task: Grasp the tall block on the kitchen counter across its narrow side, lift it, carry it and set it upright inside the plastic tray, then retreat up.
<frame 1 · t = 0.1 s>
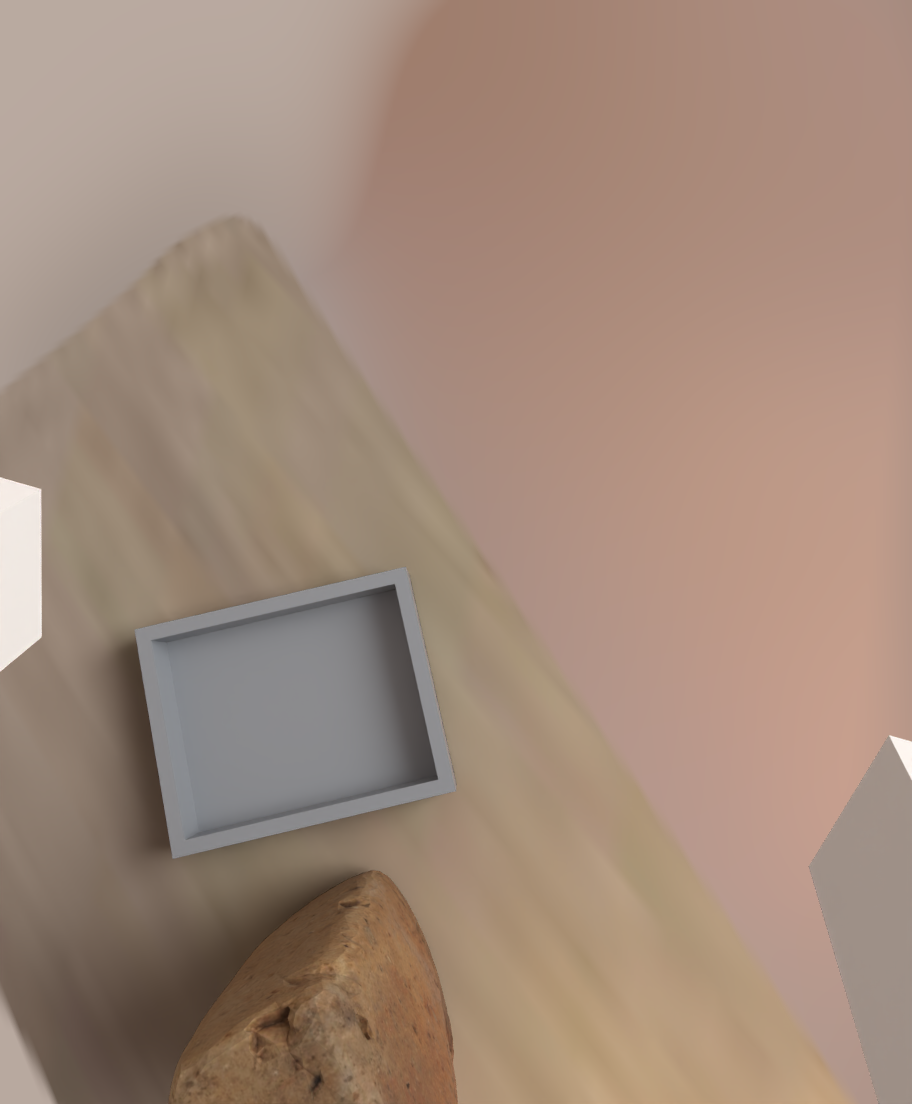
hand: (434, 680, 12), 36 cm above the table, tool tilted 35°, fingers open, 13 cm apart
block: (373, 968, 45), on the table
tray: (303, 707, 48), on the table
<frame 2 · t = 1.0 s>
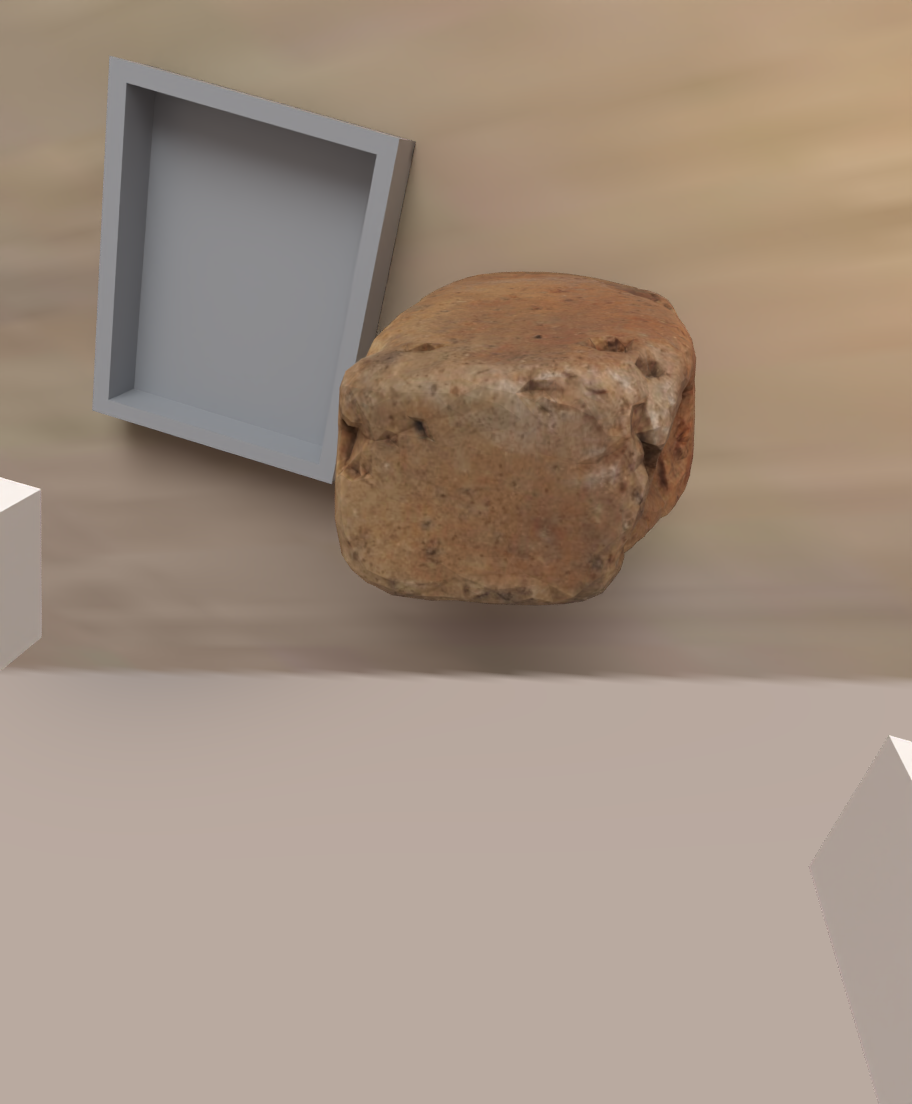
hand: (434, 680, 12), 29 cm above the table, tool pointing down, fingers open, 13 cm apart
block: (559, 347, 38), on the table
tray: (256, 281, 39), on the table
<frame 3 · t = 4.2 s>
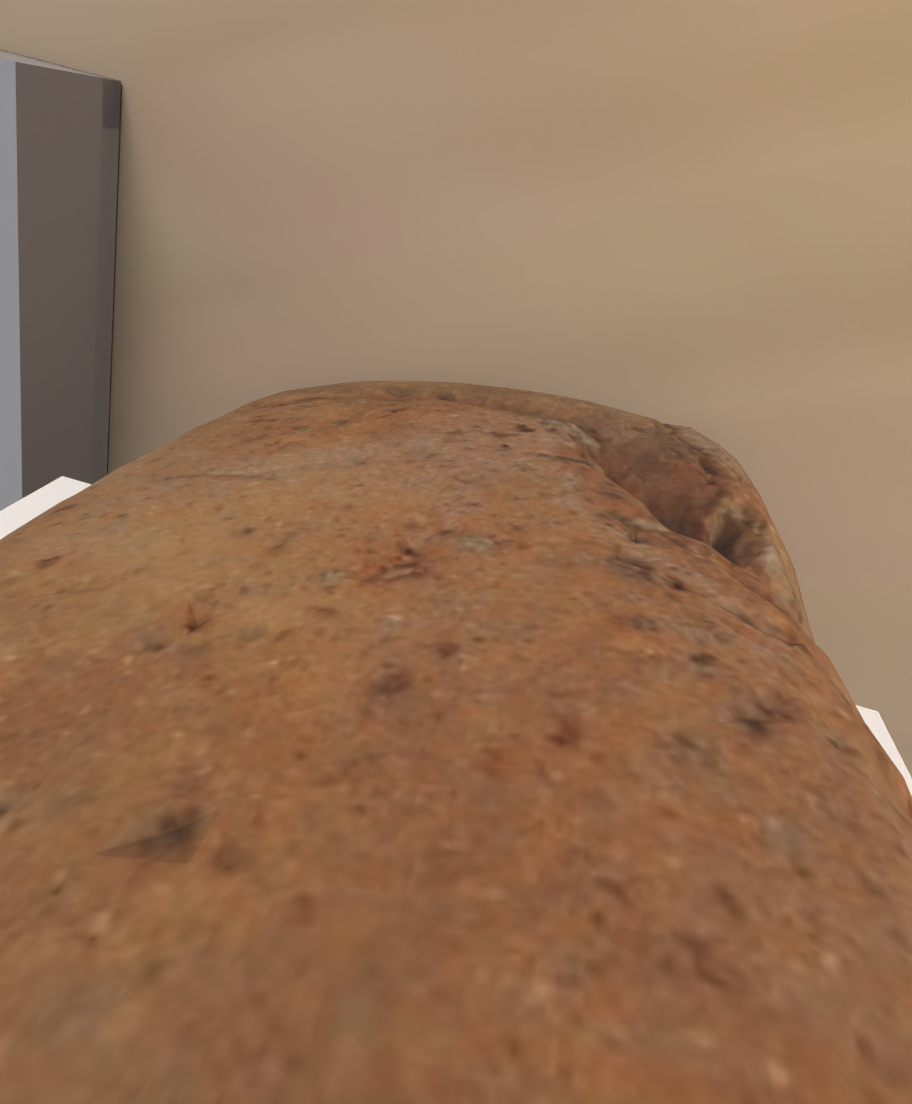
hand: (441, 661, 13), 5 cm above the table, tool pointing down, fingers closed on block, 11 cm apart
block: (488, 529, 18), on the table, touching gripper
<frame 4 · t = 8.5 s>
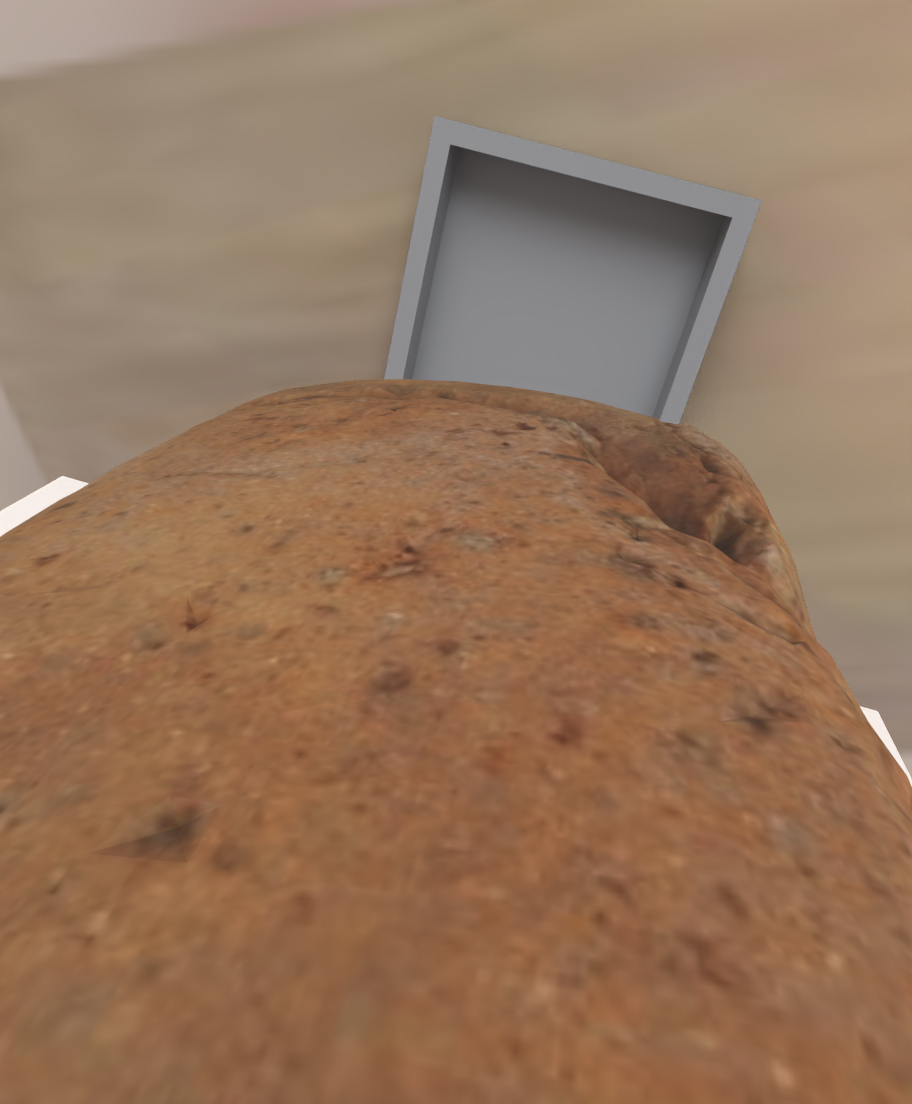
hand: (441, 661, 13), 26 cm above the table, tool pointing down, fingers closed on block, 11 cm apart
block: (488, 528, 18), point 21 cm above the table, touching gripper
tray: (544, 346, 36), on the table
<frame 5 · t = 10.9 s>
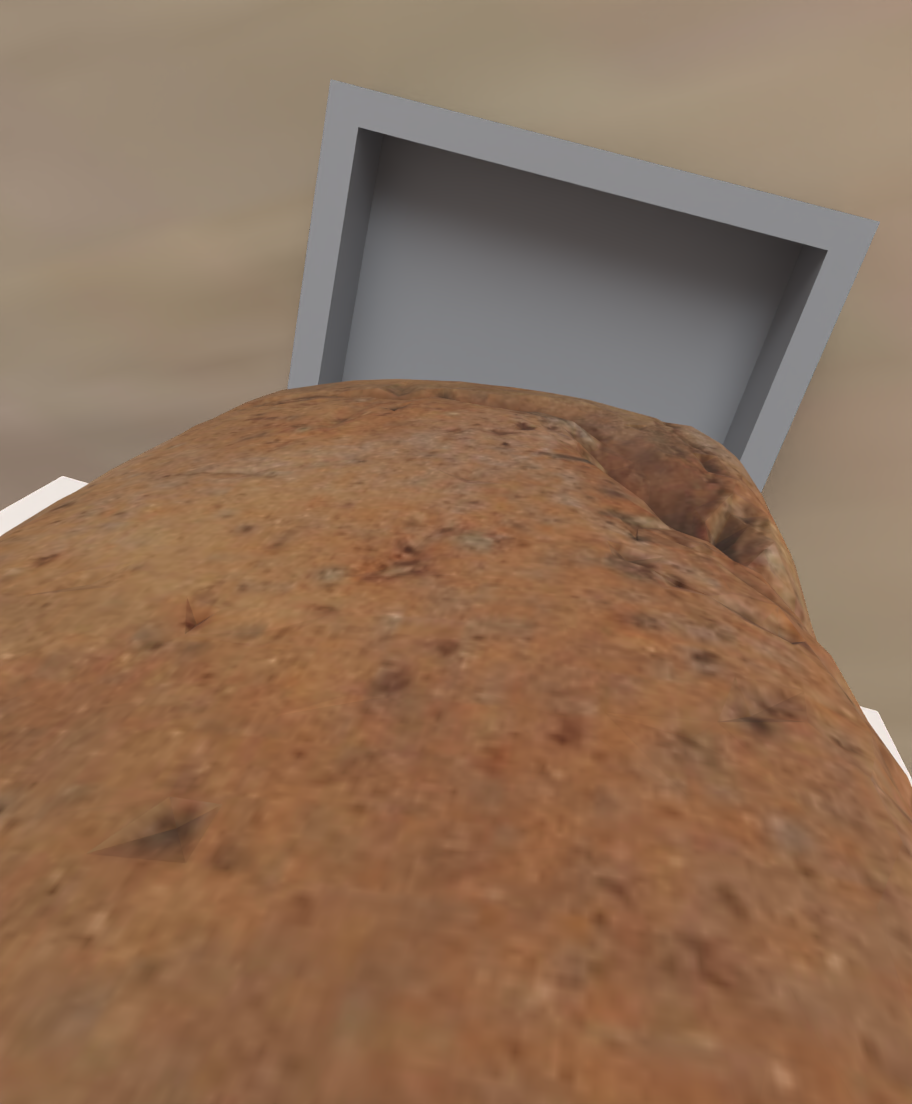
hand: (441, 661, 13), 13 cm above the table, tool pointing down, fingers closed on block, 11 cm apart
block: (488, 528, 18), point 7 cm above the table, touching gripper
tray: (521, 436, 24), on the table
when the fingers open (7 cm above the table, at t = 13.1 s): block drops 1 cm, resting on tray.
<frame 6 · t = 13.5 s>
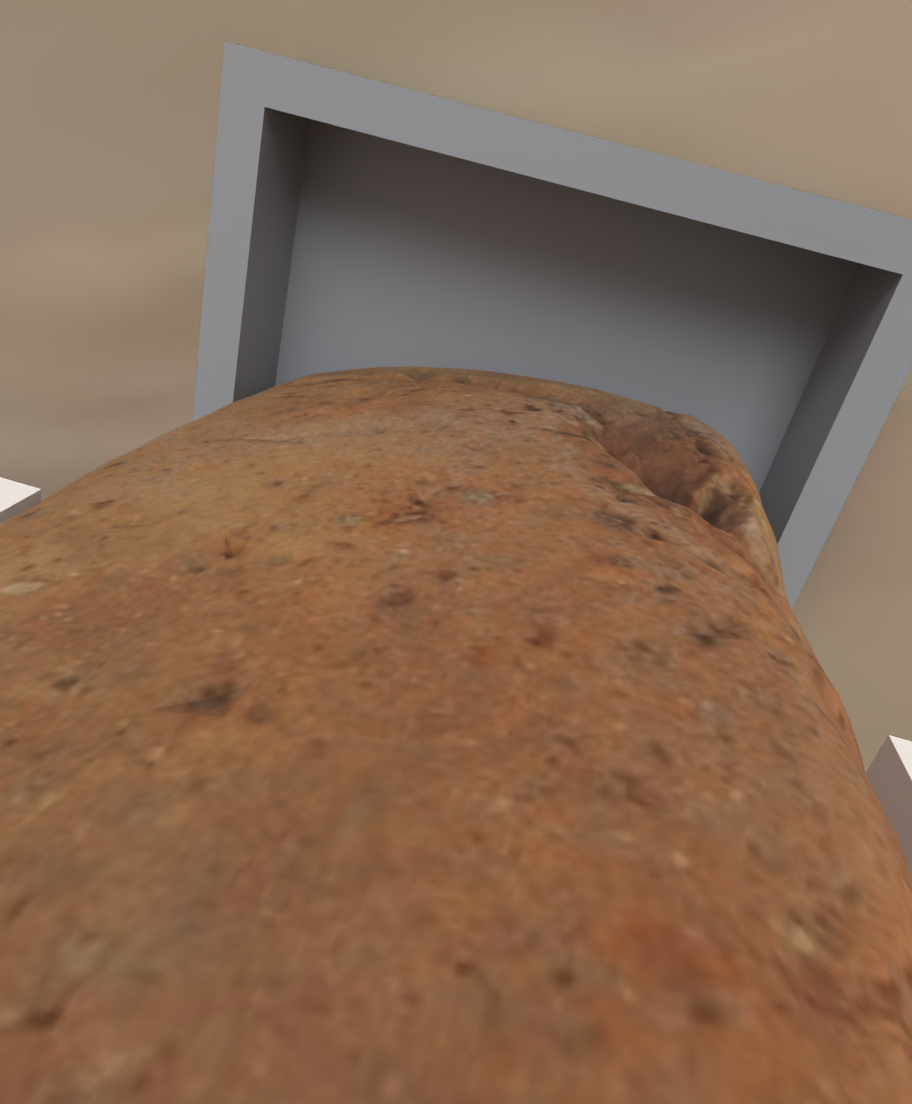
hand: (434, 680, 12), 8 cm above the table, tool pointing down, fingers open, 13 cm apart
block: (500, 510, 19), point 1 cm above the table, touching tray
tray: (495, 499, 19), on the table
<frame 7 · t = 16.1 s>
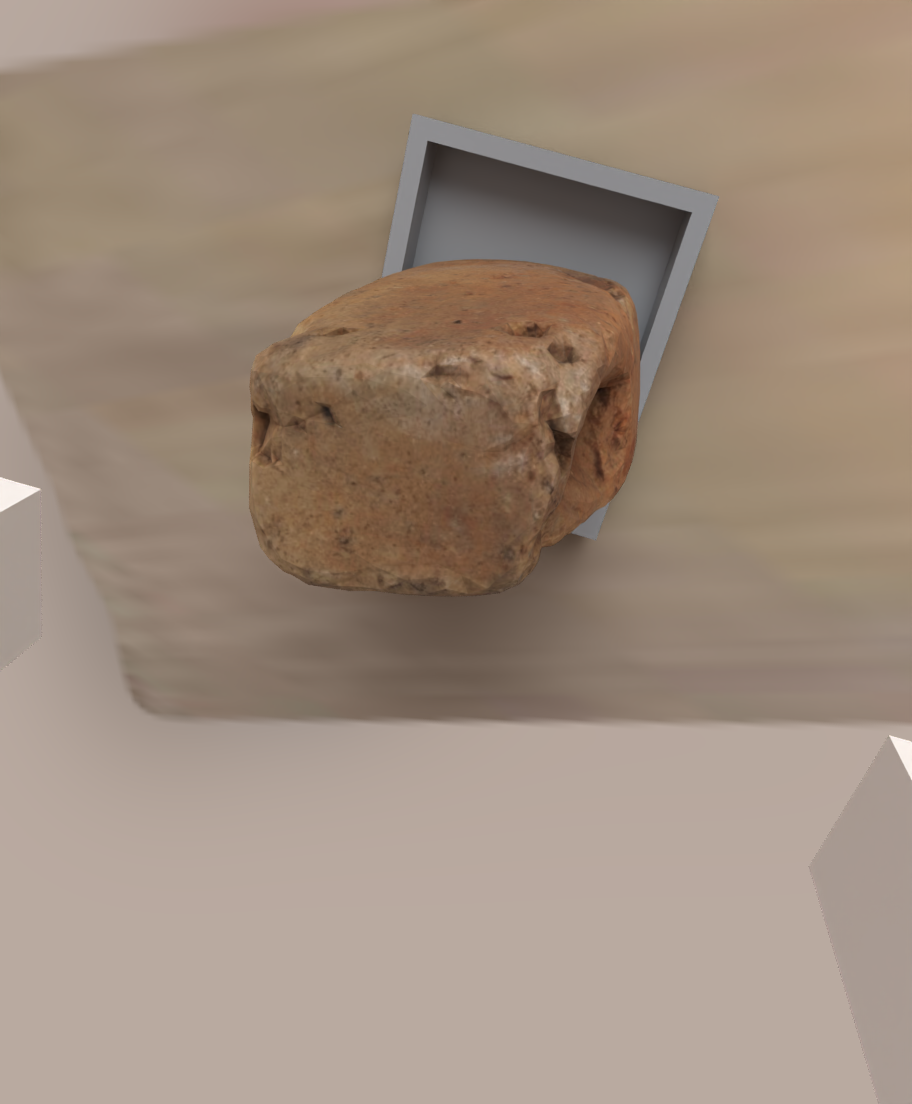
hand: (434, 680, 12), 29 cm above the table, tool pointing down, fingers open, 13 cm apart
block: (521, 337, 38), point 1 cm above the table, touching tray
tray: (518, 334, 38), on the table
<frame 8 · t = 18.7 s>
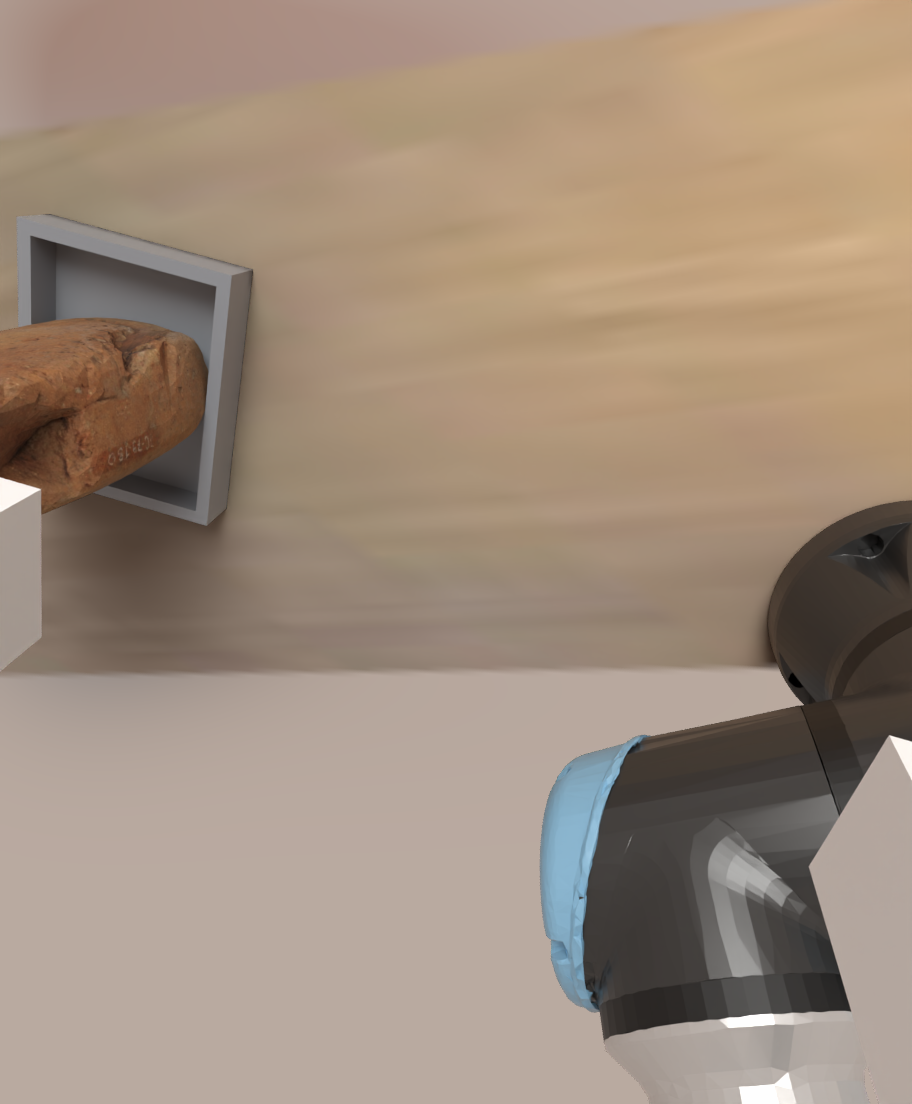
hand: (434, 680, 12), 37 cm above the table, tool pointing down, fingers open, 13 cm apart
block: (141, 373, 50), point 1 cm above the table, touching tray
tray: (143, 370, 51), on the table
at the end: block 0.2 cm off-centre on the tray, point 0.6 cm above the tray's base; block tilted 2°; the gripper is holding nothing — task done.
